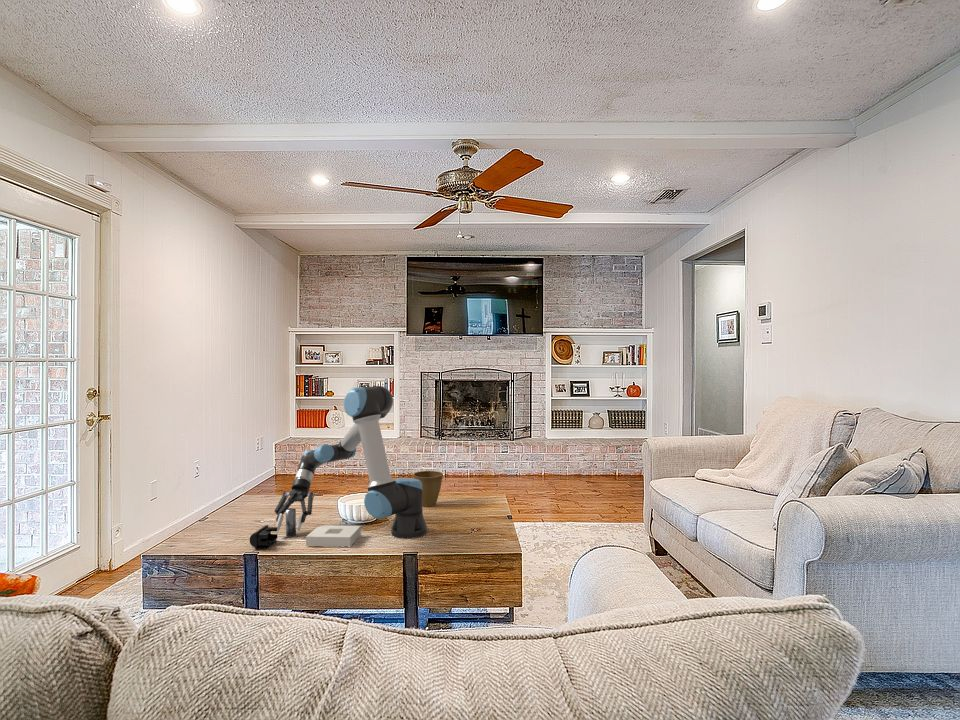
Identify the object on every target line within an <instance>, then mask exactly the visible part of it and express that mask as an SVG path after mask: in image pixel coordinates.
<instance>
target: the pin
mask: <svg viewBox="0 0 960 720" xmlns="http://www.w3.org/2000/svg"><path fill="white" fill-rule="evenodd" d="M296 511H297V509H296V508H293V507H291V508H290V507H289V508H288V509H286V511H285V536H286V537H287V536H293V537H295V536H296V535H297V528H296V527H297V512H296ZM294 535H295V536H294Z"/></svg>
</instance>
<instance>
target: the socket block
mask: <svg viewBox="0 0 960 720" xmlns="http://www.w3.org/2000/svg"><path fill="white" fill-rule="evenodd" d="M361 531H362V529H361V525H321V524H320V525H318V526H317V527H316V528H314V529H313V530H312V531H311V532H310V533H309V534H307V536H305V541H306V542H305V543H306V544H305V545H306V546H308V547H309V546H351V545H352V544H353V543H356V542H357V540H358V539H359V538H360V537H361V536H360V535H362V534H361V533H362V532H361ZM359 536H360V537H359ZM358 537H359V538H358ZM357 538H358V539H357ZM356 539H357V540H356ZM353 545H354V544H353ZM353 545H352V546H353ZM306 546H305V547H306ZM352 546H351V547H352ZM308 547H307V548H308ZM309 548H310V547H309Z"/></svg>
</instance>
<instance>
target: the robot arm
mask: <svg viewBox="0 0 960 720" xmlns="http://www.w3.org/2000/svg"><path fill="white" fill-rule="evenodd" d="M393 404H394V397H393V395H392V393H391V391H390V389H388V388H387V387H385V386H382V385H374V386H358V387H354V388H351V389H350V390H348V391H347V393H346V394H345V397H344V400H343V409H344V411H345V413H346V414H347V416H349V417H351V418H352V422H353V423H354V424H353V425H352V427H350V429H349V430H348V431H347V433H346V434H345V435H344V436H343V438H342V439H341V440H340V441H339V443H337V444H331V445H329V444H328V443H327V444H326V443H324V444H322V445H319V446H317V447H316V448H315V449H314V450H313V449H307V450H304V452H303V453H302V456H300V461H299V464H298V467H297V471H296V473H295V476H294V480H293V482H292V485H291V489H290V490H289V492H286V491H283V492H282V496H281V498H280V499H279V500H278V503H277V506H276V507H275V509H274V513H275V514H276V515H277V516H276V519H275V521H276V524H275V527H277V531H276V532H278V531H280V529H281V527H282V524H283V520H284V515H285V514H286V509H289V508H290V507H291V505H293V504H294V503H297V502H298V503H299V502H300V506H301V511H302V513H300V514H299V517H298V521H297V522H296V531H297V532H298V531H299V532H300V531H301V529H302V525H303V523H305V522H306V518H307V516H311V515H312V513H313V502H314V498H315V494H314V492H313V491H310V489H311V484H312V483H313V478H314V475H315V472H316V469H317V468H319V467H321V466H322V465H324V464H329V463H333V462H337V461H342V460H349V459H351V458H353V457H355V455H356V452H357V448H358V446H359V445H360V444H361V445H362V446H361V447H362V451H363V455H364V461H365V464H366V469H367V475H368V478H369V484H368V485H367V487H366V488H367V493H366V494H365V495H364V499H363V503H364V507H365V510H366V512H367V513H368V514H369V515H370V516H371V517H372V518H374V519H377V520H378V519H379V520H380V519H385V518H389V517H391V516H394V518H393V521H392V522H393V523H392V525H391V528H390V530H391V536H392V537H394V538H397V539H398V538H399V539H414V538H419V537H422V536H425V535H426V534H427V532H428V526H427V522H426V521H425V520H426V519H425V518H424V517H425V516H424V514H423V508H424V507H423V503H422V490H423V489H422V482H421V481H420V480H418V479H414V478H412V477H411V478H410V477H399V478H398V477H397V478H393V477H392V476H391V472H390V467H389V463H388V459H387V453H386V449H385V444H384V439H383V435H382V431H381V426H380V422H379V421H380V420H381V419H383V418H385V417H386V416H387V415H388V413H390V411H391V410H392V407H393V406H394V405H393ZM307 497H308V499H307V507H306V500H305V499H306V498H307Z"/></svg>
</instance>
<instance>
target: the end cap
mask: <svg viewBox="0 0 960 720" xmlns="http://www.w3.org/2000/svg"><path fill="white" fill-rule="evenodd" d="M272 532H278V531H277V527H276V526H272V527H271V526H269V524H266V525H264V526H262V527H261V528H259V529H258V530H256V531H255V532H253V533H252V534H251V535H250V536H249V544H250V545H251V546H252V547H253V548H254V549H255V550H269V547H270V548H271V547H272V546H273V545H275V544H276V543H277V542H278V540H277V539H278V533H277V534H276V533H274V534H273V533H272ZM274 543H275V544H274Z"/></svg>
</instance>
